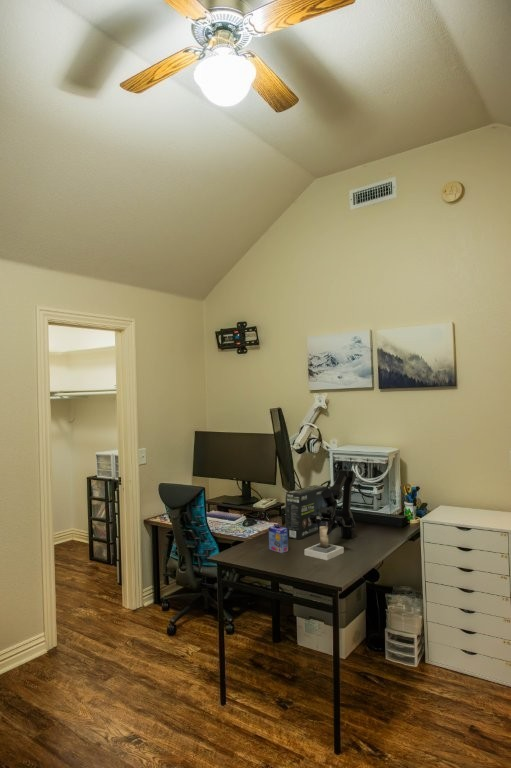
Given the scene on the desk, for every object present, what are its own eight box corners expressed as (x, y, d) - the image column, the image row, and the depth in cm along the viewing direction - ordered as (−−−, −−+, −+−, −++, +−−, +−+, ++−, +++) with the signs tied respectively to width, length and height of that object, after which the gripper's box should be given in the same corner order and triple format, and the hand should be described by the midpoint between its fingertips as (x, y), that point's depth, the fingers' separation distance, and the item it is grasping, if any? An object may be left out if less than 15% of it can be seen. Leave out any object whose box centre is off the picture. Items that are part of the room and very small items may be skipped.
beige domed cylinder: (318, 545, 253) (318, 526, 254) (325, 544, 255) (325, 525, 256) (322, 547, 249) (322, 528, 250) (330, 546, 251) (329, 527, 252)
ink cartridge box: (268, 549, 261) (267, 522, 262) (275, 547, 265) (274, 521, 266) (281, 553, 254) (281, 525, 255) (288, 551, 258) (288, 523, 259)
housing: (304, 555, 251) (304, 547, 251) (321, 548, 263) (321, 540, 263) (327, 560, 241) (327, 552, 242) (343, 552, 253) (343, 545, 254)
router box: (300, 540, 279) (299, 494, 280) (284, 537, 285) (283, 492, 287) (329, 527, 308) (328, 485, 309) (314, 525, 314) (313, 484, 316)
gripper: (310, 498, 262) (301, 523, 252) (342, 501, 252) (335, 527, 242) (316, 510, 268) (308, 535, 258) (348, 513, 259) (341, 539, 249)
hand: (322, 534), depth 251 cm, fingers closed on beige domed cylinder, 4 cm apart
